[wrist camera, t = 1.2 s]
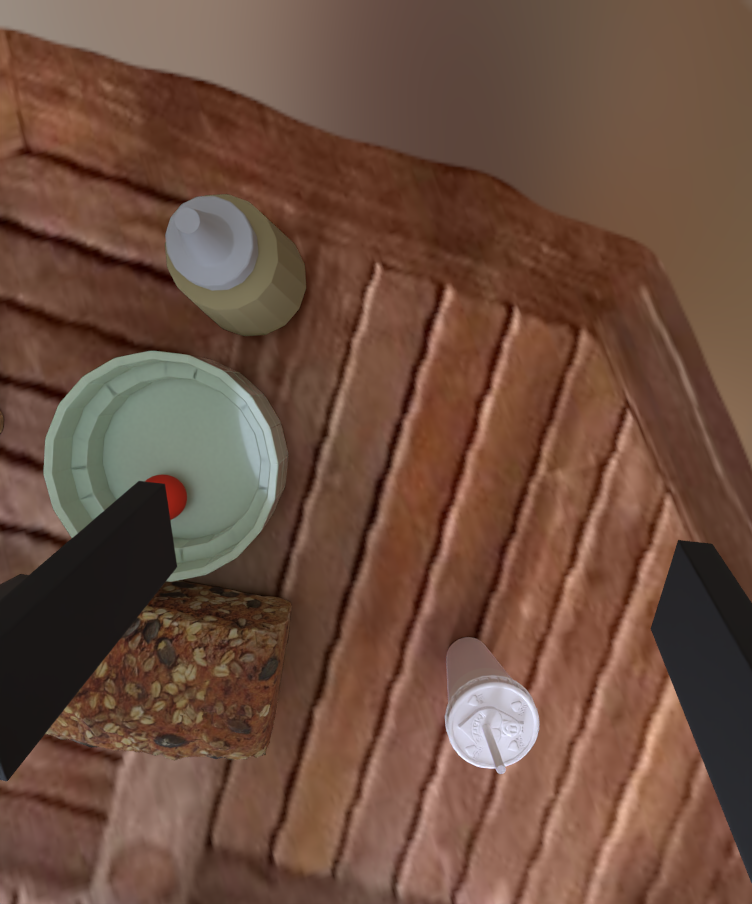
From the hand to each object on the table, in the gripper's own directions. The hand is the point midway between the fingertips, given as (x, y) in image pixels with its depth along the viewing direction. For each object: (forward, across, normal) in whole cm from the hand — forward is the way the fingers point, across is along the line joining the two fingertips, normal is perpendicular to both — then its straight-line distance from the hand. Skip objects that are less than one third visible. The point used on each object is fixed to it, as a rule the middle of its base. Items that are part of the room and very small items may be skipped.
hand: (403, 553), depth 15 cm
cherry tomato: (+22, +20, +13) cm, 33 cm away
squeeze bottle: (+31, +15, -1) cm, 35 cm away
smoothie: (+25, -4, +27) cm, 37 cm away
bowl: (+26, +20, +12) cm, 35 cm away
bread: (+21, +20, +26) cm, 39 cm away
